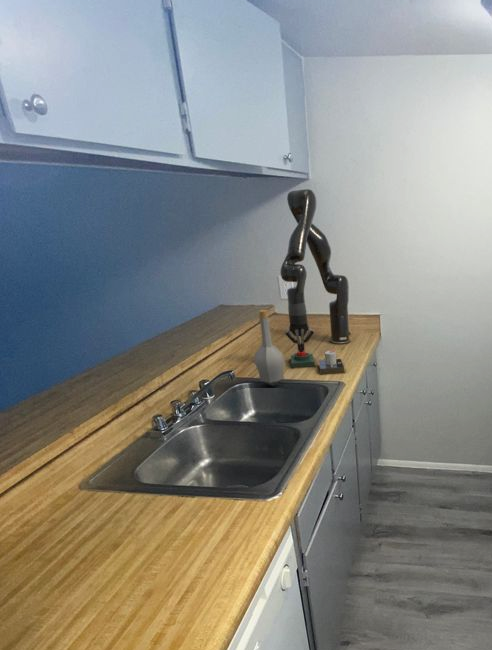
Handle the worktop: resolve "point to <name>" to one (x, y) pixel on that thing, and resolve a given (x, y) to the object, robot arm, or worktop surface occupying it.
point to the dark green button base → (302, 361)
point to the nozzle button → (301, 353)
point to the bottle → (268, 355)
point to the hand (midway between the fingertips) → (301, 351)
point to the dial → (330, 357)
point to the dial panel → (331, 367)
